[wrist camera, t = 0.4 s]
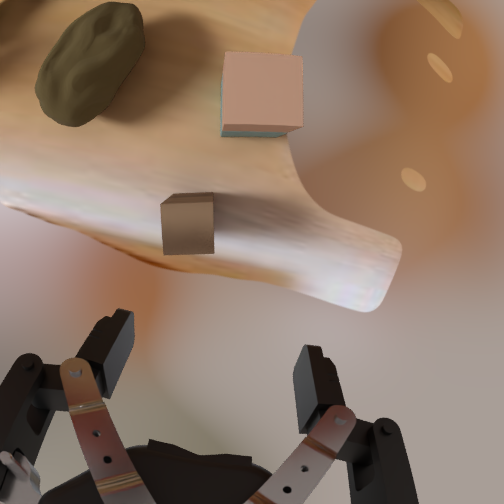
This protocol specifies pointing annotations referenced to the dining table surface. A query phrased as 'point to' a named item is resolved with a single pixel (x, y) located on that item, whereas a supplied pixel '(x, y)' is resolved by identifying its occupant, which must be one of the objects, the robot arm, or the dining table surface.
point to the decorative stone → (90, 63)
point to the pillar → (188, 224)
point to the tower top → (262, 92)
